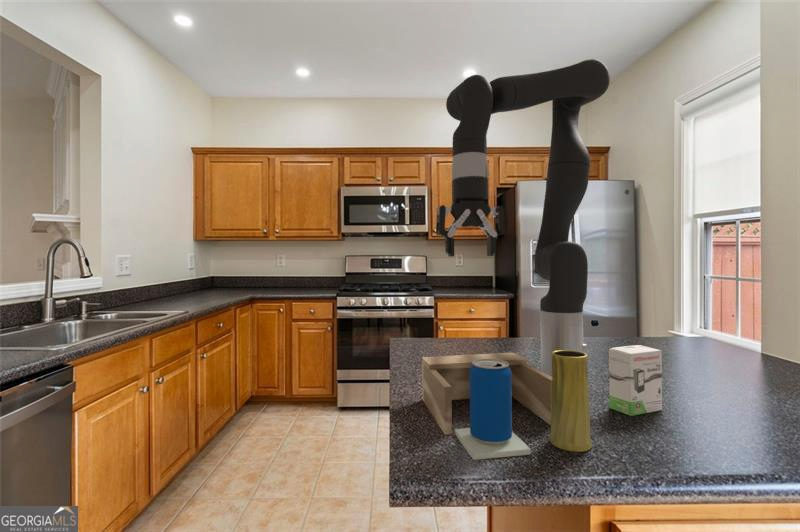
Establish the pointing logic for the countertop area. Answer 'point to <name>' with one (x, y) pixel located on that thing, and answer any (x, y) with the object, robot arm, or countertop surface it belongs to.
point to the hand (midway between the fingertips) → (470, 256)
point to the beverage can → (490, 401)
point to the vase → (570, 401)
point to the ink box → (635, 379)
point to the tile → (491, 446)
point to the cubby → (452, 382)
